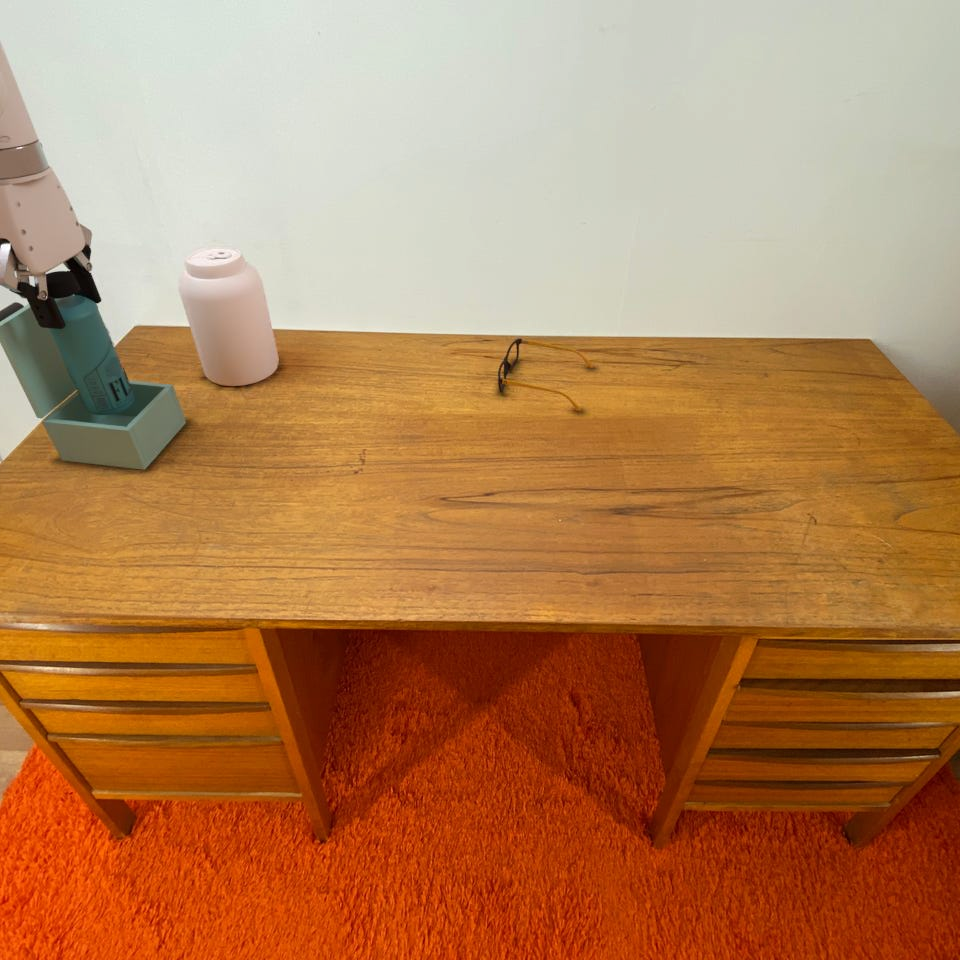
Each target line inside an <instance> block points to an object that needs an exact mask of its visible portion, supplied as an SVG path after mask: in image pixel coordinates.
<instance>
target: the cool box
mask: <svg viewBox="0 0 960 960" xmlns="http://www.w3.org/2000/svg"><path fill="white" fill-rule="evenodd" d="M128 380H129V379H128ZM128 382H130V384H131V385H130V388H131V387H132V388H131V389H133V390H132V391H133V396H134V397H133V398H134V400H133V403H132V404H131V405H130V406H129V407H128V408H126V409H124V410H122V411H120V412H117V413H114V414H109V415H95V414H92V413H90V412H89V411H88V410H87V409H86V407H85V405H84V403H83V402H81V401H82V400H81V396H79V395H80V394H79V392H78V390H76V391H74V392H73V393H72V394H71V395H70V396H68V397H67V398H66V399H65V400H64V401H63V402H61V403H60V404H59V405H58V406H57V407H55V408H54V409H53V410H52V411H51V412H50V413H48V414H47V415H46V416H45V417H44V418H43V419H42V420H41V424H42V425H43V428H44V429H45V431H46V433H47V435H48V437H49V439H50V440H51V442H52V444H53V447H54V448H55V450H56V451H57V454H58V455H59V458H60V460H61V461H63V462H72V463H81V464H89V465H90V464H91V465H97V466H107V467H115V468H125V469H134V470H140V471H141V470H143V471H145V470H147V468H148V467H149V466H150V465H151V464H152V463H153V462H154V460H155V459H156V458H157V457H158V455H160V453H161V452H162V451H163V450H164V449H165V447H166V446H167V445H168V444H169V443H170V442H171V440H173V438H174V437H175V436H176V435H177V434H178V433H179V432H180V431H181V429H182V428H183V427H184V426H185V425H186V424H187V421H186V418H185V415H184V412H183V410H182V406H181V403H180V401H179V398H178V395H177V392H176V389H175V386H174V384H169V383H160V382H159V383H158V382H151V381H150V382H149V381H148V382H147V381H139V380H129V381H128Z"/></svg>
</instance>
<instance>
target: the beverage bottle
mask: <svg viewBox="0 0 960 960" xmlns="http://www.w3.org/2000/svg"><path fill="white" fill-rule="evenodd" d="M68 271H69V270H58V271H57V270H56V271H52V272H47V273H46V282H47V291H48V296H51V297H53V298H54V299H55V301H56V304H57V306H58V308H59V310H60V313H61V315H62V317H63V319H64V322H65V324H66V326H65V327H64V328H63V329H53V328H49V329H50V331H51V334H52V336H53V338H54V340H55V342H56V344H57V346H58V349H59V351H60V353H61V355H62V357H63V359H64V361H65V364H66V367H67V369H68V371H69V373H70V375H71V377H72V378H71V377H70V378H71V379H73V380H72V381H73V382H72V383H74V385H75V386H76V388H77V390H76V391H78V392H79V394H80V395H79V396H81V400H82V401H81V402H83V403H84V405H85V407H86V409H87V410H88V411H89V412H90V413H92V414H95V415H109V414H114V413H117V412H120V411H122V410H124V409H126V408H128V407H129V406H130V405H131V404H132V403H133V400H134V398H133V397H134V396H133V391H132V390H133V389H131V388H132V387H131V388H130V385H131V384H130V382H128V381H129V378H128V377H129V376H128V375H127V372H126V371H125V367H123V366H122V363H121V360H120V358H119V356H118V354H117V350H116V348H115V343H114V342H113V339H112V337H111V333H110V331H109V329H108V328H107V325H106V323H105V322H104V319H103V318H102V315H101V312H100V310H99V306H98V304H97V303H95V302H94V301H92V300H90V299H88V298H86V297H83V296H79V295H74V294H76V293H78V292H79V291H80V286H79V284H78V282H77V281H76V279H75V277H74V275H73V274H72V273H71V272H68Z"/></svg>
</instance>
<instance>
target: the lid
mask: <svg viewBox="0 0 960 960" xmlns="http://www.w3.org/2000/svg"><path fill="white" fill-rule="evenodd" d="M0 345H1V347H2V350H3V351H4V353H5V356H6V358H7V360H8V361H9V363H10V366H11V368H12V370H13V372H14V375H15V376H16V378H17V380H18V382H19V384H20V386H21V388H22V391H23V392H24V394H25V396H26V398H27V400H28V402H29V405H30V407H31V409H32V410H33V412H34V414H35V416H36V418H37V419H45V418H46V417H47V416H48V415H49V414H50V413H52V412H53V411H54V410H55V409H56V408H58V407H59V406H60V405H61V404H62V403H63V402H65V401H66V400H67V399H68V398H69V397H71V396H72V395H73V394H74V393H75V392H76V391H78V390H77V388H76V386H75V385H74V383H72V382H73V381H72V380H73V379H71V378H72V377H71V375H70V373H69V371H68V369H67V367H66V364H65V361H64V359H63V357H62V355H61V353H60V351H59V349H58V346H57V344H56V342H55V340H54V338H53V336H52V334H51V331H50V329H49V328H43V327H40V326H39V324H38V322H37V320H36V318H35V316H34V313H33V311H32V309H31V307H30V305H29V303H28V304H27V305H23V304H22V303H20V302H17V301H15V302H12V303H11V304H9V305H8V306H6V307H4V308H3V309H0ZM70 377H71V378H70Z"/></svg>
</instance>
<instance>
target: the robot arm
mask: <svg viewBox="0 0 960 960" xmlns="http://www.w3.org/2000/svg"><path fill="white" fill-rule="evenodd" d="M92 238H93V231H92V230H91V229H89V228H88V227H86V226H84V225H83V224H81V223H80V222H79V220H78V216H77V214H76V212H75V210H74V208H73V205H72V204H71V201H70V198H69V197H68V195H67V193H66V191H65V189H64V187H63V185H62V183H61V181H60V180H59V178H58V176H57V174H56V172H55V171H54V169H53V168H52V166H51V165H50V163H49V162H48V159H47V157H46V154H45V151H44V149H43V144H42V142H41V141H40V139H39V137H38V134H37V132H36V129H35V127H34V124H33V122H32V119H31V116H30V113H29V111H28V107H27V105H26V103H25V100H24V98H23V96H22V93H21V90H20V87H19V85H18V82H17V80H16V77H15V75H14V72H13V70H12V66H11V65H10V62H9V59H8V57H7V54H6V52H5V49H4V46H3V45H2V42H1V41H0V286H2V287H3V288H5V289H7V290H9V292H11V293H14V294H16V295H17V296H19V297H20V298H21V299H26V301H27V303H28V304H29V305H30V307H31V309H32V311H33V313H34V316H35V318H36V320H37V322H38V324H39V326H40V327H43V328H53V329H63V328H64V327H65V326H66V324H65V322H64V319H63V317H62V315H61V313H60V310H59V308H58V306H57V304H56V301H55V299H54V298H53V297H51V296H48V291H47V282H46V274H47V273H49V272H50V271H51V270H53V269H55V268H56V267H58V266H60V265H61V264H63V265H64V267H65V268H66V269H67V271H68V272H71V273H72V274H73V275H74V277H75V279H76V281H77V282H78V284H79V286H80V291H79V292H78V293H76V294H74V295H79V296H83V297H86V298H88V299H90V300H92V301H94V302H95V303H96V304H97V305H98V304H100V303H101V302H102V298H101V295H100V293H99V289H98V288H97V285H96V282H95V280H94V277H93V275H92V274H93V273H92V271H93V264H92V262H91V256H92V248H91V246H92ZM30 277H33V282H34V285H32V284H31V282H30Z"/></svg>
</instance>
